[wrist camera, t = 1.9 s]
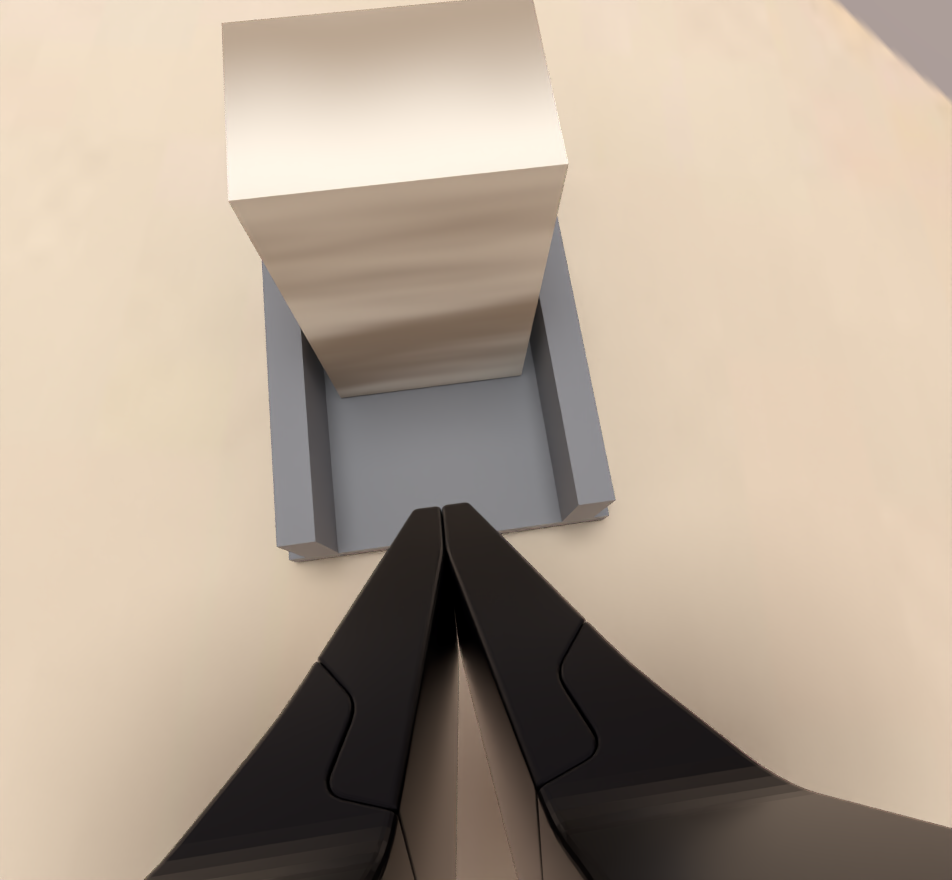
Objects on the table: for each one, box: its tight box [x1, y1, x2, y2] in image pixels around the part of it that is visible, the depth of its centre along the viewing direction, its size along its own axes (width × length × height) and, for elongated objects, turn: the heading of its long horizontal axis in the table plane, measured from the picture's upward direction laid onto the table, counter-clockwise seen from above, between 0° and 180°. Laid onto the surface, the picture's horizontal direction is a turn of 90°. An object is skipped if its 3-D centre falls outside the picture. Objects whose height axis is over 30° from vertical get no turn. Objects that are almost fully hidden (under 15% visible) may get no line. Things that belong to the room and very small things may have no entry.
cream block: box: [222, 0, 569, 398], centre depth 16 cm, size 4×6×10 cm, turn 98°
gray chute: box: [262, 217, 615, 562], centre depth 20 cm, size 14×10×4 cm
